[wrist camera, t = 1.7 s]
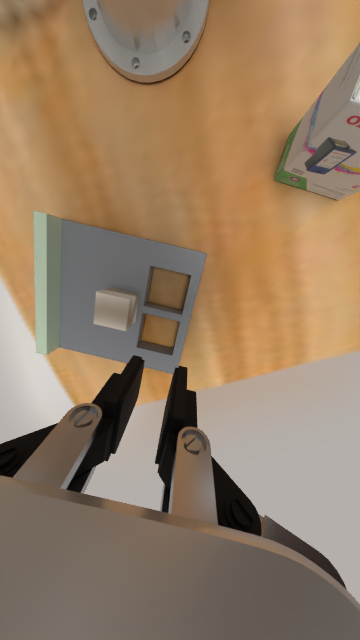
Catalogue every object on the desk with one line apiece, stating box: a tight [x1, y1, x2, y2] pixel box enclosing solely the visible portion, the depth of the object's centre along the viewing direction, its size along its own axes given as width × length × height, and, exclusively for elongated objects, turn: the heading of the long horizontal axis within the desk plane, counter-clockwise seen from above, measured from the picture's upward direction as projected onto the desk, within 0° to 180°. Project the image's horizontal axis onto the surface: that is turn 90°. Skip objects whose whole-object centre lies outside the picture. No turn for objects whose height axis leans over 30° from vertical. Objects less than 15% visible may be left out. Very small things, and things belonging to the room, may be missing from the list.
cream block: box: [93, 288, 140, 331], centre depth 23 cm, size 4×4×4 cm
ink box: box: [274, 43, 360, 200], centre depth 16 cm, size 9×5×12 cm, turn 74°
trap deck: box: [33, 211, 207, 374], centre depth 25 cm, size 18×21×5 cm
